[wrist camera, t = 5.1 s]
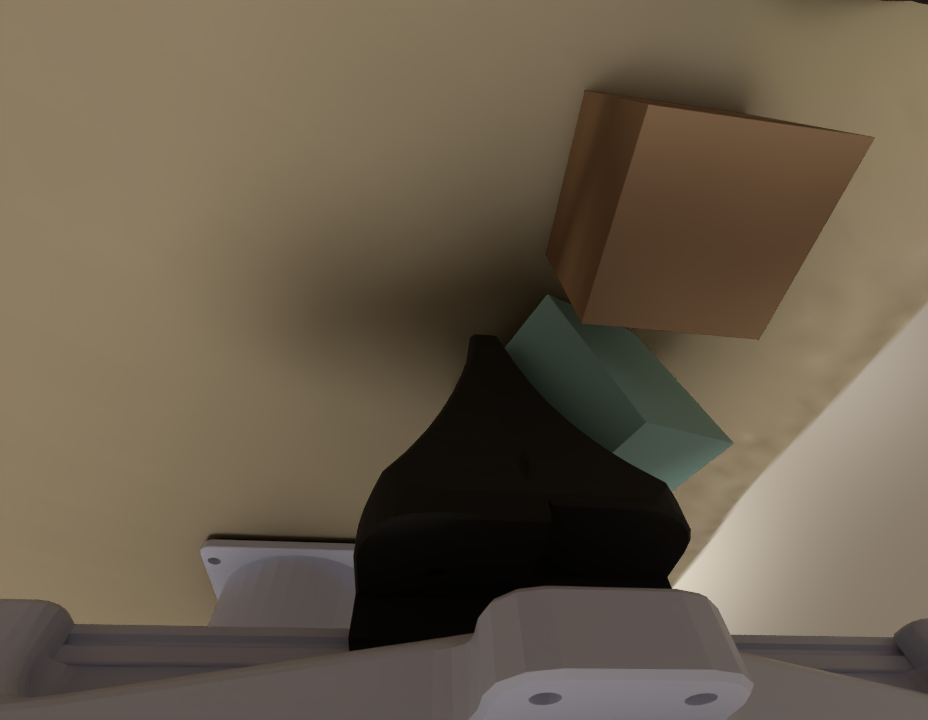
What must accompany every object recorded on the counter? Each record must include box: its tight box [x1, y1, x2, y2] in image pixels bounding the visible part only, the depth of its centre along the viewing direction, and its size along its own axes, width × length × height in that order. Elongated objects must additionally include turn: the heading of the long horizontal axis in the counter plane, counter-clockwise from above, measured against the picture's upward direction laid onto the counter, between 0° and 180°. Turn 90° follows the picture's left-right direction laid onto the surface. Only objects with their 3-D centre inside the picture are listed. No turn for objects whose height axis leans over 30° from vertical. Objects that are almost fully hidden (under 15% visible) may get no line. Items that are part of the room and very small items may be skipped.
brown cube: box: [546, 90, 875, 340], centre depth 10 cm, size 4×4×4 cm
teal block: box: [505, 294, 734, 491], centre depth 13 cm, size 5×4×4 cm
